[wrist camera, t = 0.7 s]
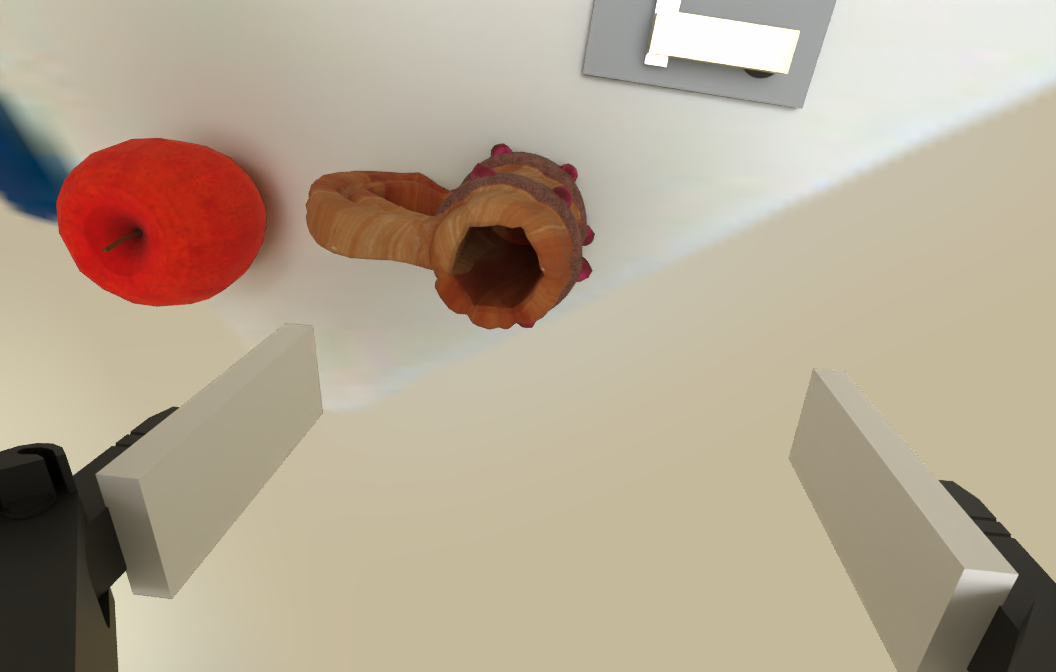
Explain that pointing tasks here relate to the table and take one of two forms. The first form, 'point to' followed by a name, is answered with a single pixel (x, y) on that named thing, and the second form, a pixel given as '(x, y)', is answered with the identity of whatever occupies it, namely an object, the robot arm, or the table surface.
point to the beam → (717, 41)
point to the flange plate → (624, 41)
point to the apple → (161, 221)
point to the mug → (466, 232)
